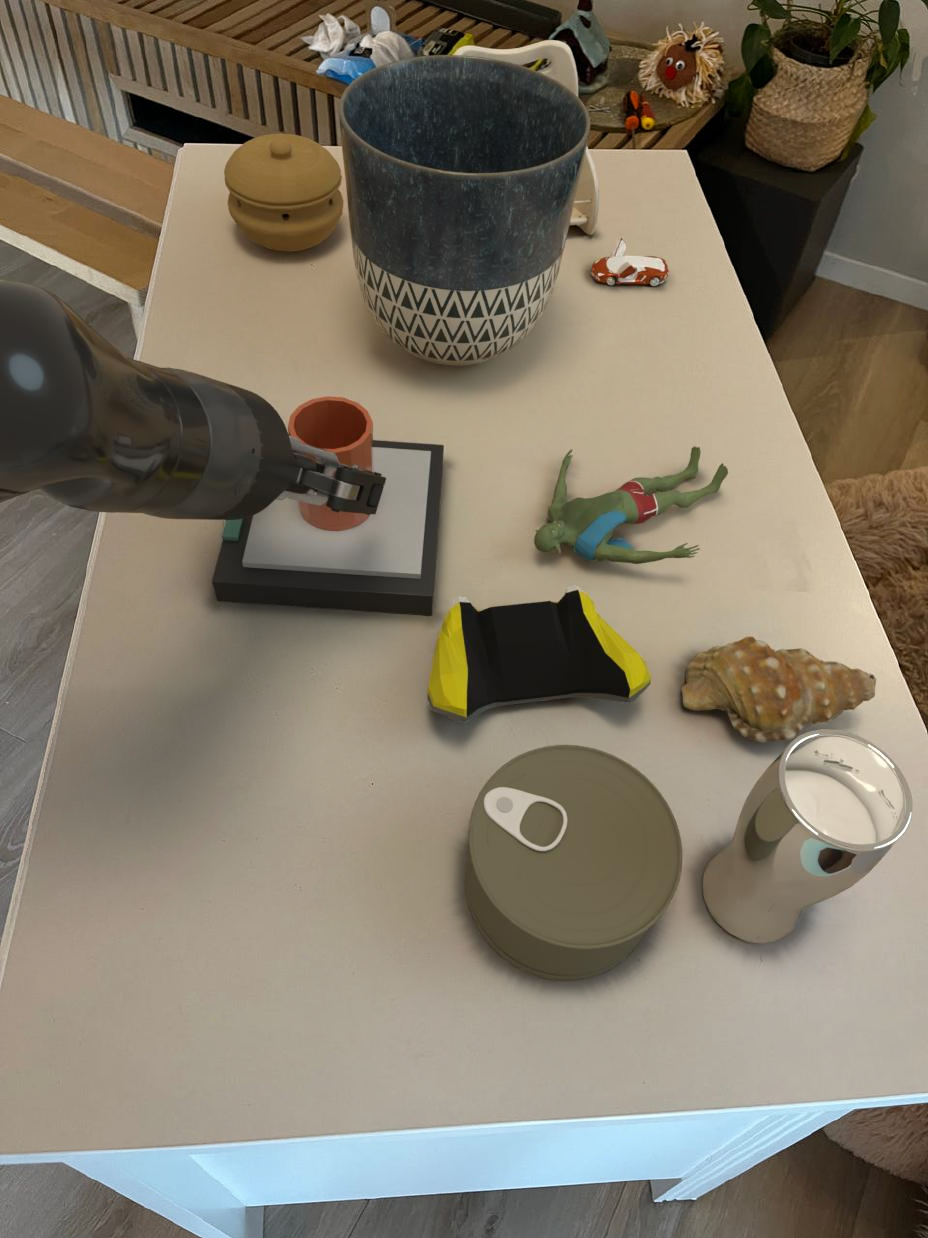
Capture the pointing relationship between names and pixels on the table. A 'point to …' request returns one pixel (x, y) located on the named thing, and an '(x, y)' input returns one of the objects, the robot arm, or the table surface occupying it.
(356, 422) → the cup
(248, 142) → the pot
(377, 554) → the scale
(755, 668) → the seashell
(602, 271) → the toy car
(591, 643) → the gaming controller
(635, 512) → the figurine
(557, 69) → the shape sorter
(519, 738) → the table surface
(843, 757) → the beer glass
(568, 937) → the can
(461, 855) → the table surface
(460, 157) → the planter
